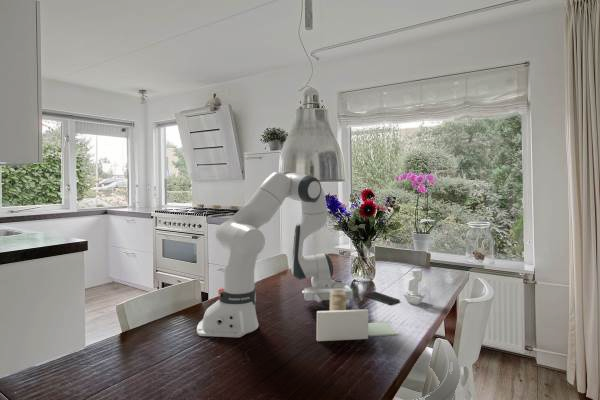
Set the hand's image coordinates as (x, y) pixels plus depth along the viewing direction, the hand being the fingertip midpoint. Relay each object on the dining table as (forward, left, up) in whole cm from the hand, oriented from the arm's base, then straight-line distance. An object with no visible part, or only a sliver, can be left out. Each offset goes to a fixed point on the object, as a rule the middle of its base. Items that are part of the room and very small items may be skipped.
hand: (331, 299), depth 142 cm
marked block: (0, -10, -8) cm, 12 cm away
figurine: (+41, +14, -8) cm, 44 cm away
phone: (+28, +20, -8) cm, 36 cm away
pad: (+15, -12, -8) cm, 21 cm away
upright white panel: (0, -18, -8) cm, 19 cm away
